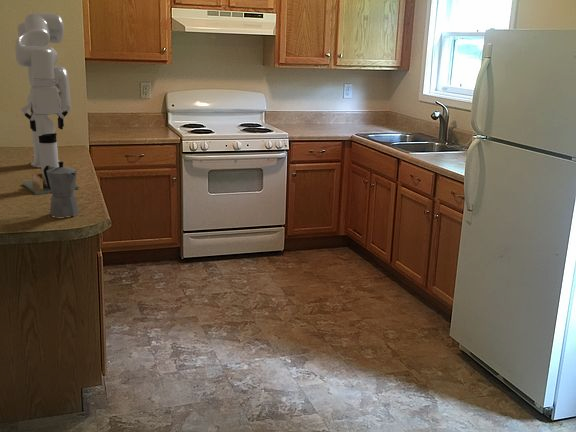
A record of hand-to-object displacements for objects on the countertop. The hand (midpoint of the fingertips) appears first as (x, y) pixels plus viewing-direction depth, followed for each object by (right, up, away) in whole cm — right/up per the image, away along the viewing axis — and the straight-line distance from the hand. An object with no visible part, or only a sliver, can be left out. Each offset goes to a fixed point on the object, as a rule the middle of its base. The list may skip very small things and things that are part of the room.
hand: (47, 129), depth 235 cm
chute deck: (-2, -21, +8) cm, 22 cm away
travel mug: (-1, -20, +6) cm, 21 cm away
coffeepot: (+14, -32, -24) cm, 42 cm away
